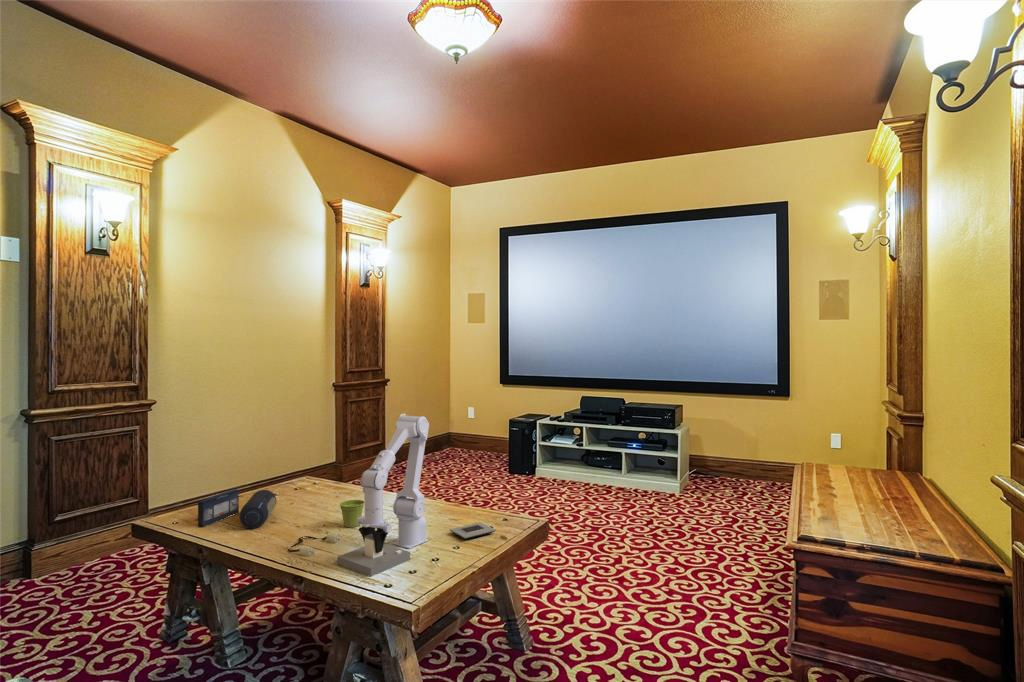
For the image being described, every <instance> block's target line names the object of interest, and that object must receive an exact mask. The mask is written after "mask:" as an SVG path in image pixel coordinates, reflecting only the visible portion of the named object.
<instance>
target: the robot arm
mask: <svg viewBox="0 0 1024 682" xmlns="http://www.w3.org/2000/svg"><path fill="white" fill-rule="evenodd" d="M394 427H395V432H394V433H393V434H392V437H391V439H390V441H389V443H388V445H387V446H386V449H384V450H381V451H380V452H378V455H377V456H376V458H375V460H374V461H373V463H372V464H371V466H370V467H369V469H366V470H365V471H363V472H362V474H361V477H360V480H359V483H360V485H361V487H362V492H363V494H364V501H365V504H364V516H362V517H359V518H357V524H358V525H359V524H361V526H360V527H359V528H358V531H359V532H360V534H361V537H362V538H363V542H364V543H363V544H365V536H366V535H369V534H372V535H373V538H374V542H375V551H376V553H379V552H381V551H382V549H383V545H384V544H385V541H386V538H387V536H388V534H389V533H390V532H393V529H392V528H393V525H392V524H390V523H388V522H387V521H385V520H384V487H385V486H386V485H387V482H388V476H389V472H390V470H391V468H392V467H393V465H394V463H395V462H396V456H395V455H396V454H397V452H398V451H399V450H400V448H401V446H403V444H404V443H405V442H406V440H408V442H409V443H410V444H409V449H408V456H407V463H406V469H405V475H404V482H403V487H402V489H401V490H400V491H398V492H397V493H396V498H395V499H394V503H393V505H392V511H393V514H394V515H395V516H396V519H398V522H397V523H398V524H397V525H398V531H397V532H398V540H396V541H394V542H392V544H393V545H395V546H397V547H398V546H399V547H402V548H405V549H411V548H414V547H417V546H418V545H421V544H423V543H427V542H428V541H429V539H428V538H427V521H426V518H425V516H424V512H425V508H426V507H425V495H424V494H423V493H422V491H420V488H419V487H420V482H421V475H422V471H423V470H422V469H423V463H424V456H425V448H426V442H427V440H428V435H429V428H430V423H429V421H428V419H427V417H425V416H423V415H422V416H416V415H405V414H402V415H400V416H399V417H398V419H397V421H396V422H395V425H394Z"/></svg>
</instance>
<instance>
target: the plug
mask: <svg viewBox="0 0 1024 682" xmlns="http://www.w3.org/2000/svg"><path fill="white" fill-rule="evenodd" d="M364 546H365V556H366V557H369V558H372V559H374V558H376V557H379V556H381V555H383V549H382V551H381V552H379V553H376V551H375V542H374V538H373V535H372V534H369V535H366V536H365V543H364Z"/></svg>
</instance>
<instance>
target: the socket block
mask: <svg viewBox="0 0 1024 682" xmlns="http://www.w3.org/2000/svg"><path fill="white" fill-rule="evenodd" d="M336 560H337V565H338V564H339V565H338V566H340V565H342V566H341V567H343V566H345V567H344V568H346V567H347V568H346V569H349V568H350V569H349V570H351V569H353V570H352V571H354V570H356V571H355V572H357V571H358V572H357V573H360V574H362V573H363V575H365V574H366V576H368V575H369V577H373V575H374V576H375V574H376V575H378V574H380V572H381V573H382V572H385V571H387V570H390V569H392V568H394V567H397V566H399V565H401V564H403V563H405V562H409V561H410V560H411V551H410V550H409V551H408V550H406V549H402V548H399V547H396V546H392V545H388V544H387V543H384V545H383V555H381V556H379V557H376V558H374V559H372V558H369V557H366V556H365V545H364V546H361V547H359V548H356V549H354V550H351V551H348V552H346V553H343V554H340V555H338V556H337V559H336Z"/></svg>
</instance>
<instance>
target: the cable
mask: <svg viewBox="0 0 1024 682" xmlns="http://www.w3.org/2000/svg"><path fill="white" fill-rule="evenodd" d="M303 537H308V538H307V539H310V538H313V539H312V540H314V539H319V538H318V537H314V536H310V535H307V536H305V535H304V536H301V537H299V538H298V542H297V543H295V544H293V545H292V544H291V546H290V547H293V546H295V547H297V546H299V545H300V544H302V543H303V542H304V538H303ZM340 537H341V536H340V534H337V533H333V532H329V533H328V534H327V536H324V537H321V538H320V539H323V540H322V541H324V540H326V541H327V543H331V542H333V543H332V544H336V543H338V542H340V541H341V538H340ZM301 538H303V539H301ZM337 541H338V542H337ZM335 542H336V543H335ZM296 545H297V546H296ZM293 548H294V547H293ZM287 549H288V548H287ZM288 551H289V552H288ZM288 551H287V552H288V553H296V552H297V553H299V555H300V556H302V555H304V556H303V557H310V556H312V555H313V554H315V551H314V547H313V546H307V545H304V544H303V545H302V546H301V547H300V548H298V549H288ZM312 553H313V554H312ZM309 555H310V556H309Z"/></svg>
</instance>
